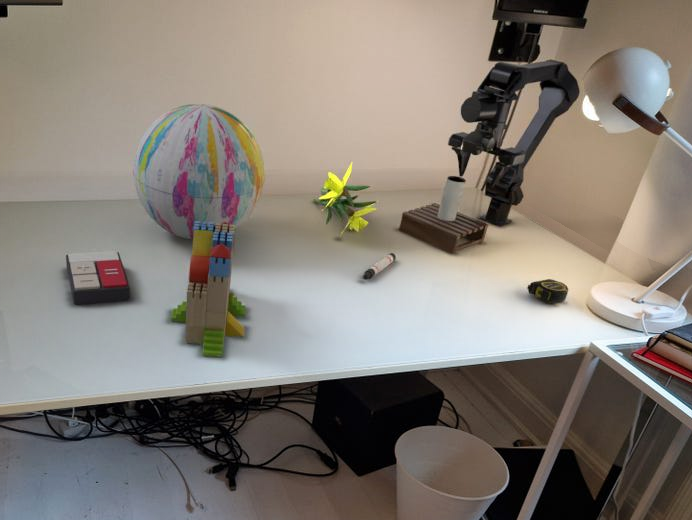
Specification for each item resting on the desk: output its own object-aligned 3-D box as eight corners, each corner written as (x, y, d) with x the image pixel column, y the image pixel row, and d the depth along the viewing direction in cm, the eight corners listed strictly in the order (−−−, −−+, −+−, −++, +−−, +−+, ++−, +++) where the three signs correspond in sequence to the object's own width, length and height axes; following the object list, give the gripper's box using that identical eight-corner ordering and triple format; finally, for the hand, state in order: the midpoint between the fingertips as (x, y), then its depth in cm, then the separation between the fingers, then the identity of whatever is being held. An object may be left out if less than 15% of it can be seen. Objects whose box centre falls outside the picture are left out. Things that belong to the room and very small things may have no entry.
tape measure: (546, 290, 148) (552, 275, 146) (570, 304, 143) (576, 289, 141) (524, 294, 145) (530, 279, 143) (547, 308, 140) (553, 293, 138)
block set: (180, 279, 138) (183, 191, 127) (246, 284, 138) (255, 197, 127) (163, 352, 115) (165, 252, 104) (242, 359, 115) (252, 260, 104)
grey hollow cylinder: (456, 217, 167) (467, 178, 162) (453, 223, 164) (464, 183, 158) (438, 213, 169) (449, 174, 163) (435, 219, 165) (445, 179, 159)
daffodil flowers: (363, 207, 185) (398, 222, 152) (317, 232, 186) (342, 252, 153) (337, 152, 180) (368, 156, 147) (290, 178, 181) (310, 188, 148)
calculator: (72, 288, 123) (65, 250, 135) (73, 307, 126) (66, 269, 137) (130, 284, 127) (118, 248, 138) (130, 303, 129) (118, 265, 140)
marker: (387, 259, 155) (389, 251, 154) (394, 261, 154) (396, 254, 153) (358, 281, 144) (360, 272, 143) (366, 284, 143) (368, 275, 142)
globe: (236, 208, 174) (245, 90, 157) (276, 257, 151) (292, 124, 134) (124, 213, 165) (121, 88, 148) (148, 266, 142) (147, 125, 125)
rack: (430, 220, 178) (434, 202, 175) (483, 242, 168) (489, 224, 165) (398, 230, 170) (402, 212, 167) (451, 254, 160) (457, 235, 157)
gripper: (443, 113, 160) (427, 175, 169) (511, 133, 148) (490, 198, 157) (468, 109, 166) (452, 169, 175) (535, 127, 155) (514, 191, 164)
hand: (476, 181), depth 167 cm, fingers open, 9 cm apart
